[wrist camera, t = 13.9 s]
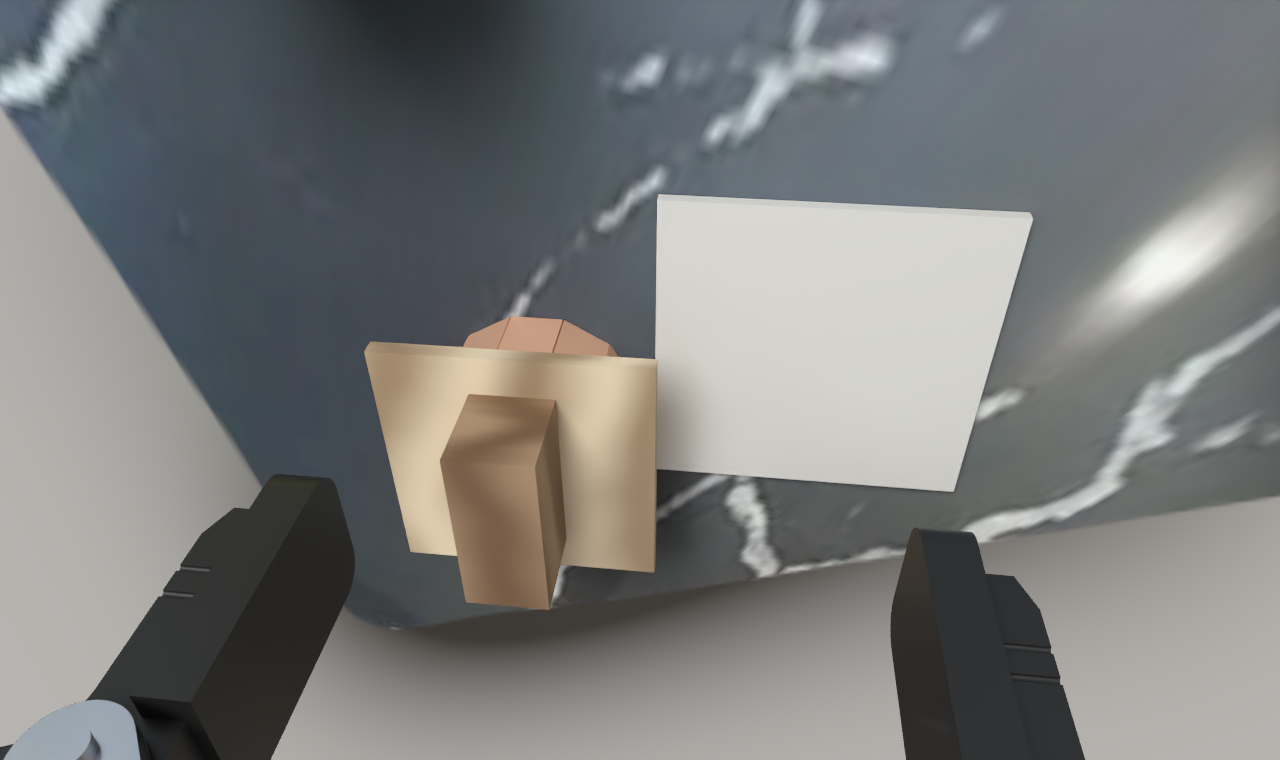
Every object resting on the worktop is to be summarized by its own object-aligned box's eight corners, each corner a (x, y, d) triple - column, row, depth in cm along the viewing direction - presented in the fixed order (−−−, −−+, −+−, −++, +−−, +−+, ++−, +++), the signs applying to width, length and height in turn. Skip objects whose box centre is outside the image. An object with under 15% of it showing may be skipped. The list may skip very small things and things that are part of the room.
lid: (657, 359, 39) (644, 438, 35) (655, 560, 47) (644, 645, 43) (370, 341, 40) (324, 415, 36) (415, 540, 48) (381, 620, 44)
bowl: (636, 324, 44) (623, 385, 40) (637, 473, 50) (625, 539, 46) (439, 311, 45) (407, 370, 41) (463, 459, 51) (437, 523, 47)
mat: (1029, 212, 38) (1033, 218, 38) (951, 484, 48) (953, 491, 47) (658, 194, 40) (657, 200, 39) (655, 461, 49) (654, 468, 49)
